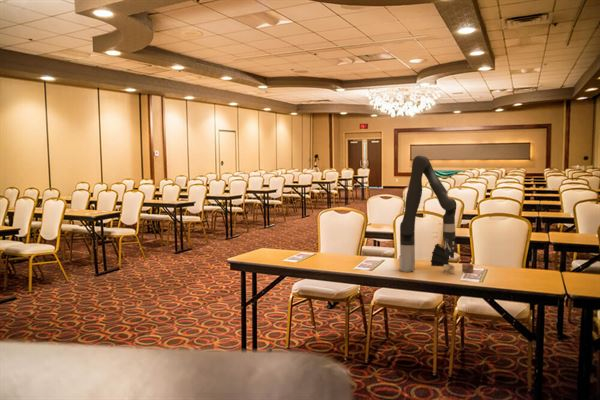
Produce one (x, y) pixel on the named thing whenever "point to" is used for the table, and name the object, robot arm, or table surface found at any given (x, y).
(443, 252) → the black ridged slab
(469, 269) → the walnut block
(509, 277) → the table surface
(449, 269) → the maple block
